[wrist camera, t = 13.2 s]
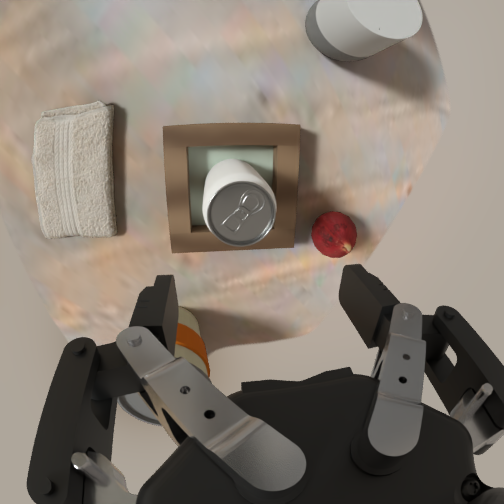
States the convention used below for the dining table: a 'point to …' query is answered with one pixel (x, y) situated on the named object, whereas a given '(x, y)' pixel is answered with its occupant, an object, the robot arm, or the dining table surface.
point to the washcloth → (75, 171)
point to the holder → (214, 151)
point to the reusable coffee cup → (185, 347)
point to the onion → (334, 234)
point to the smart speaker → (361, 26)
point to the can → (238, 203)
